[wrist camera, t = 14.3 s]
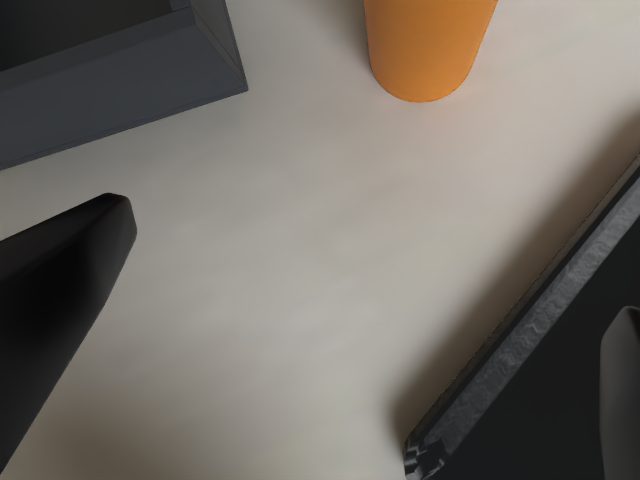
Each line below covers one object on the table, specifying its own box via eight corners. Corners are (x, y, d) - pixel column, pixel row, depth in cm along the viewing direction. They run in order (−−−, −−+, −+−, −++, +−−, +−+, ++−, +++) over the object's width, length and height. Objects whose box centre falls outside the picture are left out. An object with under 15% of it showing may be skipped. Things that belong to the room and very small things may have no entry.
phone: (389, 470, 18) (682, 113, 17) (389, 458, 19) (664, 123, 18) (588, 641, 17) (909, 267, 16) (576, 617, 18) (875, 267, 17)
